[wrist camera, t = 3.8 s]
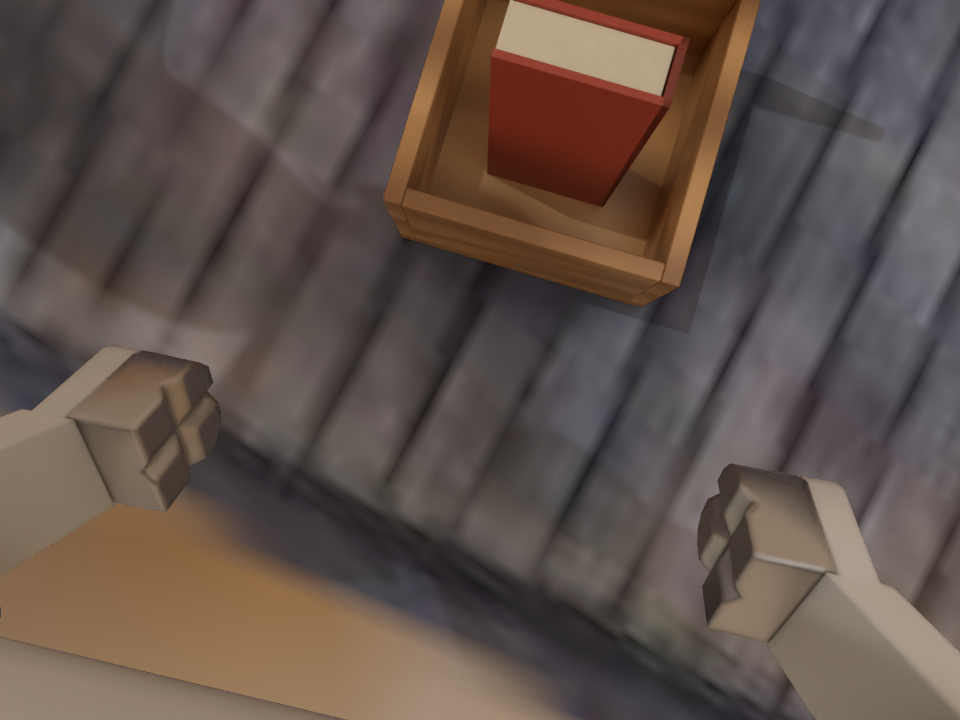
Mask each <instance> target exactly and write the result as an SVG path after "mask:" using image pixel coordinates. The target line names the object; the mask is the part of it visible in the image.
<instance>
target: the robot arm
mask: <svg viewBox="0 0 960 720" xmlns="http://www.w3.org/2000/svg"><path fill="white" fill-rule="evenodd" d="M212 383H213V380H212V377H211V373H210V370H209V367H208V366H206V365H204V364H202V363H199V362H195V361H190V360H185V359H181V358H176V357H171V356H167V355H162V354H158V353H153V352H148V351H144V350H143V351H141V350H136V349H132V348H127V347H123V346H118V345H112V346H109V347H105V348H103V349H102V350H100V351H99V352H98V353H97V354H96V355H95V356H94V357H92V358H91V359H90V360H89V361H88V362H87V363H86V364H84V365H83V366H82V367H81V368H80V369H79V370H78V371H76V372H75V373H74V374H73V375H72V376H71V377H70V378H68V379H67V380H66V381H65V382H64V383H63V384H62V385H61V386H59V387H58V388H57V389H56V390H55V391H54V392H53V393H51V394H50V395H49V396H48V397H47V398H46V399H45V400H43V401H42V402H41V403H40V404H39V405H38V406H37V407H35V408H34V409H33V410H32V411H30V410H24V409H21V410H18V411H16V412H13V413H10V414H8V415H5V416H2V417H0V577H1V576H2V575H4V574H5V573H7V572H9V571H10V570H12V569H14V568H15V567H17V566H18V565H20V564H21V563H23V562H25V561H26V560H28V559H29V558H31V557H33V556H34V555H36V554H37V553H39V552H41V551H42V550H44V549H46V548H47V547H49V546H50V545H52V544H54V543H55V542H57V541H58V540H60V539H62V538H63V537H65V536H66V535H68V534H69V533H71V532H73V531H74V530H76V529H77V528H79V527H81V526H82V525H84V524H85V523H87V522H89V521H90V520H92V519H93V518H95V517H96V516H98V515H100V514H101V513H103V512H105V511H106V510H108V509H109V508H111V507H113V506H114V503H113V502H115V503H120V504H126V505H131V506H136V507H142V508H147V509H153V510H158V511H164V512H166V511H167V510H168V509H169V507H170V506H171V505H172V503H173V502H174V500H175V499H176V498H177V496H178V495H179V494H180V492H181V491H182V490H183V488H184V487H185V486H186V484H187V483H188V481H189V480H190V473H189V466H191V465H193V464H195V463H197V462H199V461H201V460H203V459H205V458H206V457H207V455H208V454H209V452H210V451H211V449H212V448H213V446H214V445H215V443H216V440H217V437H218V434H219V431H220V428H221V411H220V407H219V403H218V402H217V401H216V400H215V399H214V398H213V397H212V396H211V395H210V393H209V392H208V391H207V390H208V389H209V387H210V386H211V385H212ZM718 485H719V491H720V493H719V494H717V495H715V496H713V497H711V498H709V499H708V500H707V502H706V504H705V506H704V508H703V511H702V513H701V517H700V522H699V526H698V539H697V545H698V555H699V560H700V561H701V562H702V564H703V565H704V566H705V568H706V569H707V570H708V571H709V575H708V577H707V579H706V580H705V582H704V584H703V586H702V588H703V596H704V604H705V611H706V619H707V627H708V628H709V629H713V630H717V631H721V632H725V633H729V634H734V635H738V636H742V637H746V638H750V639H754V640H758V641H763V642H767V643H769V644H768V645H767V646H768V648H769V649H770V651H771V652H772V654H773V656H774V657H775V659H776V660H777V662H778V663H779V665H780V666H781V668H782V669H783V671H784V672H785V674H786V675H787V677H788V678H789V680H790V681H791V683H792V684H793V686H794V688H795V689H796V691H797V692H798V694H799V695H800V697H801V698H802V700H803V701H804V703H805V704H806V706H807V707H808V709H809V710H810V712H811V713H812V715H813V717H814V718H815V720H960V652H959V651H958V650H957V649H956V648H955V647H954V646H953V645H952V644H951V643H950V642H949V641H948V640H947V639H946V638H945V637H944V636H943V635H942V634H941V633H940V632H939V631H938V630H936V629H935V628H934V627H933V626H932V625H931V624H930V623H929V622H928V621H927V620H926V619H925V618H924V617H923V616H922V615H921V614H920V613H919V612H918V611H917V610H916V609H915V608H914V607H913V606H912V605H911V604H910V603H909V602H908V601H907V600H906V599H905V598H904V597H903V596H902V595H901V594H900V593H899V592H898V591H896V590H895V589H894V588H893V587H892V586H889V585H885V584H881V583H880V581H879V578H878V576H877V573H876V571H875V568H874V566H873V563H872V560H871V558H870V555H869V553H868V550H867V548H866V545H865V542H864V540H863V537H862V535H861V532H860V530H859V527H858V524H857V522H856V519H855V517H854V514H853V512H852V509H851V506H850V504H849V501H848V499H847V496H846V494H845V491H844V489H843V488H842V487H841V486H840V485H839V484H838V483H836V482H831V481H825V480H820V479H814V478H809V477H803V476H800V477H798V476H796V475H791V474H786V473H780V472H775V471H769V470H764V469H758V468H753V467H747V466H742V465H736V464H731V463H730V464H729V465H728V466H726V467H725V468H724V469H723V471H722V473H721V475H720V477H719V479H718ZM0 618H1V608H0ZM0 720H345V719H341V718H337V717H333V716H329V715H325V714H321V713H316V712H312V711H308V710H304V709H300V708H296V707H291V706H287V705H283V704H279V703H275V702H271V701H267V700H262V699H258V698H254V697H250V696H245V695H242V694H237V693H233V692H229V691H224V690H221V689H217V688H212V687H208V686H204V685H200V684H196V683H191V682H187V681H183V680H179V679H175V678H170V677H166V676H162V675H158V674H154V673H150V672H146V671H141V670H137V669H133V668H128V667H125V666H121V665H116V664H112V663H108V662H104V661H100V660H95V659H91V658H87V657H83V656H79V655H75V654H70V653H66V652H62V651H58V650H54V649H50V648H45V647H41V646H37V645H33V644H29V643H24V642H20V641H16V640H12V639H8V638H3V637H0Z"/></svg>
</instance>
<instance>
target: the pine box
mask: <svg viewBox="0 0 960 720" xmlns="http://www.w3.org/2000/svg"><path fill="white" fill-rule="evenodd" d="M558 1H561V2H565V3H568V4H572V5H575V6H579V7H582V8H586V9H589V10H593V11H596V12H600V13H603V14H606V15H610V16H613V17H617V18H620V19H624V20H627V21H631V22H634V23H638V24H641V25H645V26H648V27H652V28H655V29H659V30H662V31H666V32H669V33H672V34H676V35H679V36H683V37H686V38H689V39H690V41H689V44H688V48H687V51H686V55H685V58H684V61H683V65H682V68H681V72H680V75H679V79H678V82H677V86H676V89H675V93H674V96H673V100H672V103H671V107H670V109H669V110H668V112H667V113H666V114H665V116H664V117H663V119H662V120H661V122H660V123H659V125H658V126H657V128H656V129H655V131H654V132H653V134H652V135H651V137H650V138H649V140H648V141H647V143H646V144H645V146H644V147H643V149H642V150H641V152H640V153H639V155H638V156H637V158H636V159H635V161H634V162H633V164H632V165H631V167H630V168H629V169H628V171H627V172H626V174H625V175H624V177H623V178H622V180H621V181H620V183H619V184H618V186H617V187H616V189H615V190H614V192H613V193H612V195H611V196H610V198H609V199H608V201H607V202H606V204H605V205H604V207H600V206H596V205H593V204H589V203H586V202H583V201H579V200H576V199H572V198H569V197H566V196H562V195H559V194H555V193H552V192H549V191H545V190H542V189H538V188H535V187H531V186H528V185H525V184H521V183H518V182H514V181H511V180H508V179H504V178H501V177H497V176H494V175H490V174H487V160H488V128H489V96H490V64H491V53H492V50H493V48H496V45H497V41H498V38H499V35H500V31H501V28H502V25H503V22H504V18H505V15H506V12H507V8H508V5H509V0H445V1H444V4H443V7H442V10H441V13H440V17H439V20H438V23H437V26H436V29H435V33H434V36H433V39H432V42H431V46H430V49H429V52H428V55H427V58H426V62H425V65H424V68H423V71H422V75H421V78H420V81H419V84H418V87H417V91H416V94H415V97H414V100H413V104H412V107H411V110H410V113H409V116H408V120H407V123H406V126H405V129H404V132H403V136H402V139H401V142H400V145H399V149H398V152H397V155H396V158H395V161H394V165H393V168H392V171H391V174H390V178H389V181H388V184H387V187H386V190H385V194H384V197H383V201H384V203H385V205H386V207H387V209H388V211H389V213H390V214H391V216H392V218H393V220H394V222H395V224H396V226H397V228H398V230H399V232H400V235H401V237H403V238H406V239H410V240H413V241H416V242H420V243H423V244H426V245H430V246H433V247H437V248H440V249H443V250H447V251H450V252H454V253H457V254H460V255H464V256H467V257H471V258H474V259H477V260H481V261H484V262H487V263H491V264H494V265H498V266H501V267H504V268H508V269H511V270H515V271H518V272H521V273H525V274H528V275H532V276H535V277H538V278H542V279H545V280H548V281H552V282H555V283H559V284H562V285H565V286H569V287H572V288H576V289H579V290H582V291H586V292H589V293H592V294H596V295H599V296H603V297H606V298H609V299H613V300H616V301H620V302H623V303H626V304H630V305H633V306H637V307H642V306H644V305H645V304H647V303H649V302H651V301H653V300H655V299H657V298H659V297H661V296H663V295H665V294H667V293H668V292H670V291H672V290H674V289H676V288H678V287H679V286H680V284H681V280H682V276H683V273H684V269H685V266H686V262H687V259H688V255H689V252H690V248H691V245H692V241H693V238H694V234H695V231H696V227H697V224H698V220H699V217H700V213H701V209H702V206H703V202H704V199H705V195H706V192H707V188H708V185H709V181H710V178H711V174H712V171H713V167H714V164H715V160H716V157H717V153H718V150H719V146H720V142H721V139H722V135H723V132H724V128H725V125H726V121H727V118H728V114H729V111H730V107H731V104H732V100H733V97H734V93H735V90H736V86H737V83H738V79H739V75H740V72H741V68H742V65H743V61H744V58H745V54H746V51H747V47H748V44H749V40H750V37H751V33H752V30H753V26H754V23H755V19H756V16H757V12H758V8H759V5H760V1H761V0H558Z"/></svg>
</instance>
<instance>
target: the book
mask: <svg viewBox="0 0 960 720" xmlns="http://www.w3.org/2000/svg"><path fill="white" fill-rule="evenodd" d="M689 41H690V39H689V38H686V37H683V36H679V35H676V34H672V33H669V32H666V31H662V30H659V29H655V28H652V27H648V26H645V25H641V24H638V23H634V22H631V21H627V20H624V19H620V18H617V17H613V16H610V15H606V14H603V13H600V12H596V11H593V10H589V9H586V8H582V7H579V6H575V5H572V4H568V3H565V2H561V1H558V0H509V5H508V8H507V12H506V15H505V18H504V22H503V25H502V28H501V31H500V35H499V38H498V41H497V45H496V48H493V50H492V53H491V64H490V96H489V128H488V160H487V174H490V175H494V176H497V177H501V178H504V179H508V180H511V181H514V182H518V183H521V184H525V185H528V186H531V187H535V188H538V189H542V190H545V191H549V192H552V193H555V194H559V195H562V196H566V197H569V198H572V199H576V200H579V201H583V202H586V203H589V204H593V205H596V206H600V207H604V205H605V204H606V202H607V201H608V199H609V198H610V196H611V195H612V193H613V192H614V190H615V189H616V187H617V186H618V184H619V183H620V181H621V180H622V178H623V177H624V175H625V174H626V172H627V171H628V169H629V168H630V167H631V165H632V164H633V162H634V161H635V159H636V158H637V156H638V155H639V153H640V152H641V150H642V149H643V147H644V146H645V144H646V143H647V141H648V140H649V138H650V137H651V135H652V134H653V132H654V131H655V129H656V128H657V126H658V125H659V123H660V122H661V120H662V119H663V117H664V116H665V114H666V113H667V112H668V110H669V109H670V107H671V103H672V100H673V96H674V93H675V89H676V86H677V82H678V79H679V75H680V72H681V68H682V65H683V61H684V58H685V55H686V51H687V48H688V44H689Z"/></svg>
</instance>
